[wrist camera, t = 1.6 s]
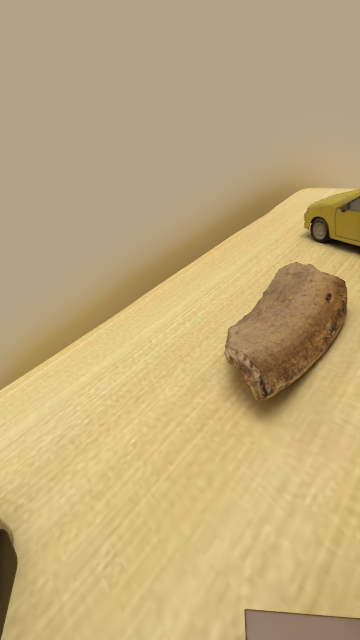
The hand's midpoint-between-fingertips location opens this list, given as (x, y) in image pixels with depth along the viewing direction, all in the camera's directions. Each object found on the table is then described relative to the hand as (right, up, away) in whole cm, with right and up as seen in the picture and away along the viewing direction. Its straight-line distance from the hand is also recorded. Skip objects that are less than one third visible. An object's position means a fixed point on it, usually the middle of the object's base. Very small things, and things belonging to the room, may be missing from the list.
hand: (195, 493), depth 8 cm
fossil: (+11, +2, +29) cm, 31 cm away
